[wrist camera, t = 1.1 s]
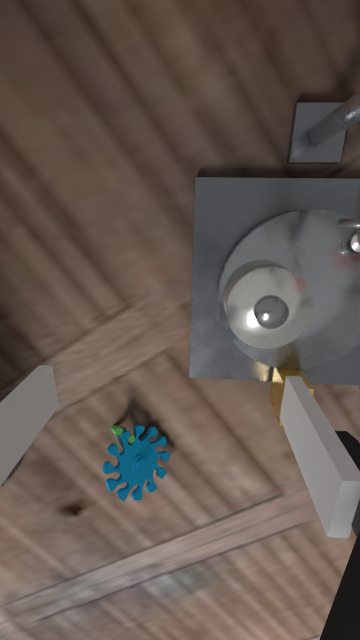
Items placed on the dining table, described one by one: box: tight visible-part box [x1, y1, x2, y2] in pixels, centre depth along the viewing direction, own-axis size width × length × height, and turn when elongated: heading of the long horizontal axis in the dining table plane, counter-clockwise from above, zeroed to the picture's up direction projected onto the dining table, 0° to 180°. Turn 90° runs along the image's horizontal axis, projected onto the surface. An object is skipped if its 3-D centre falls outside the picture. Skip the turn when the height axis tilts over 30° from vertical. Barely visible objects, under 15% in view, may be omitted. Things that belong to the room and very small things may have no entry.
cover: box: [223, 260, 314, 349], centre depth 29 cm, size 8×8×6 cm
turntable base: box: [189, 177, 360, 385], centre depth 34 cm, size 24×24×1 cm
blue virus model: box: [102, 424, 170, 501], centre depth 42 cm, size 11×6×10 cm
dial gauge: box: [287, 91, 360, 245], centre depth 24 cm, size 5×12×15 cm, turn 179°
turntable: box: [217, 210, 360, 426], centre depth 32 cm, size 18×23×6 cm
